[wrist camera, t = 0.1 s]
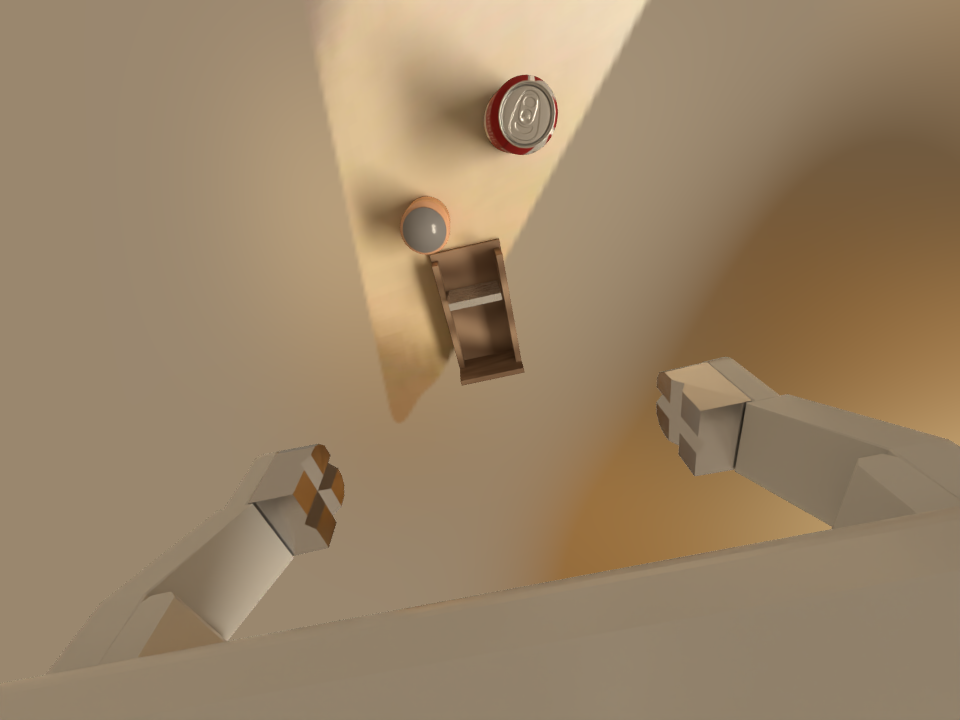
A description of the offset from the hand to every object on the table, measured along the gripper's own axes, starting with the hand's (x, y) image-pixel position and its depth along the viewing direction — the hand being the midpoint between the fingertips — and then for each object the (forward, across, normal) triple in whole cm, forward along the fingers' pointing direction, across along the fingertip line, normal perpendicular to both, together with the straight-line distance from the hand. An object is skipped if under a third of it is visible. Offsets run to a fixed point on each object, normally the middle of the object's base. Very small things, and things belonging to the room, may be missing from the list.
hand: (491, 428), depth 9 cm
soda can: (+48, -8, -7) cm, 49 cm away
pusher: (+47, +1, +14) cm, 49 cm away
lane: (+48, +1, +16) cm, 51 cm away
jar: (+48, +5, +2) cm, 48 cm away
